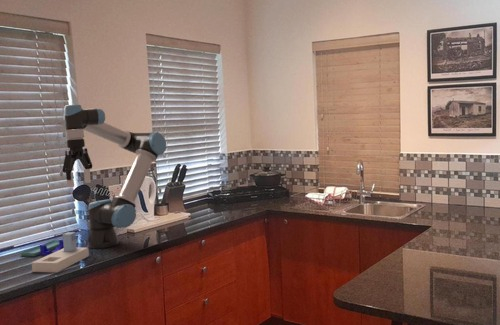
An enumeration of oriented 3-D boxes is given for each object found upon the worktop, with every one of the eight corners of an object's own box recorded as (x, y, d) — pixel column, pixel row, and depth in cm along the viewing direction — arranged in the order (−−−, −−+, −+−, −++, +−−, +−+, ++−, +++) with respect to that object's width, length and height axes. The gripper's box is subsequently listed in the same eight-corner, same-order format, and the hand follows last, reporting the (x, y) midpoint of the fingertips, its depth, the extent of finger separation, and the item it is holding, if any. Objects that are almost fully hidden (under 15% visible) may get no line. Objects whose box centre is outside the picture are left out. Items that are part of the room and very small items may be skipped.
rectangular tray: (54, 243, 262) (54, 238, 262) (69, 243, 260) (69, 239, 260) (19, 257, 237) (19, 252, 237) (35, 258, 235) (34, 253, 235)
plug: (70, 257, 227) (67, 232, 226) (79, 257, 226) (76, 232, 225) (64, 259, 223) (62, 234, 222) (74, 260, 222) (71, 234, 221)
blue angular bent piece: (46, 258, 232) (44, 246, 232) (40, 257, 235) (39, 245, 234) (68, 252, 242) (67, 240, 241) (63, 251, 245) (62, 239, 244)
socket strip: (66, 257, 231) (65, 247, 231) (89, 258, 228) (88, 247, 228) (32, 273, 208) (31, 262, 207) (57, 274, 205) (56, 263, 204)
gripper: (83, 137, 235) (87, 181, 237) (51, 140, 211) (55, 189, 213) (97, 137, 233) (101, 180, 235) (66, 140, 209) (70, 189, 211)
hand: (79, 185), depth 224 cm, fingers open, 13 cm apart
